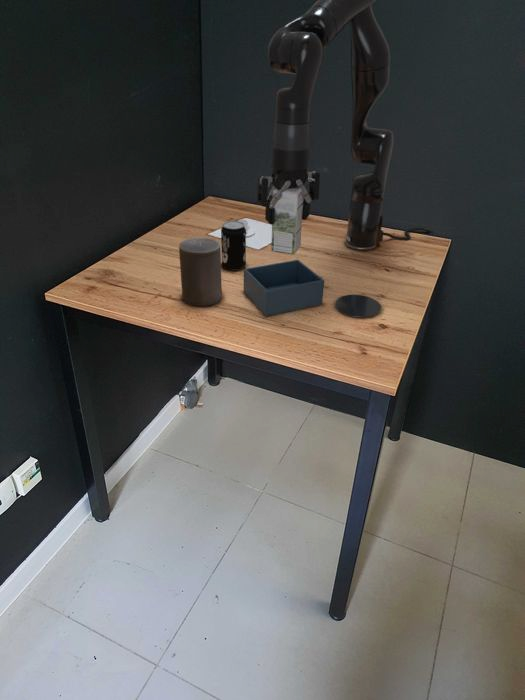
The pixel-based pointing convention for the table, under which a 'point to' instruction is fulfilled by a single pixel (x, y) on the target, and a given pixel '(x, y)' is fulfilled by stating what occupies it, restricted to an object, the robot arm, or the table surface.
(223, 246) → the beverage can
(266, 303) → the bin
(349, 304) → the coaster
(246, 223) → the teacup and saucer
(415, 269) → the table surface
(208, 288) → the pillar candle
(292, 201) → the syrup box
